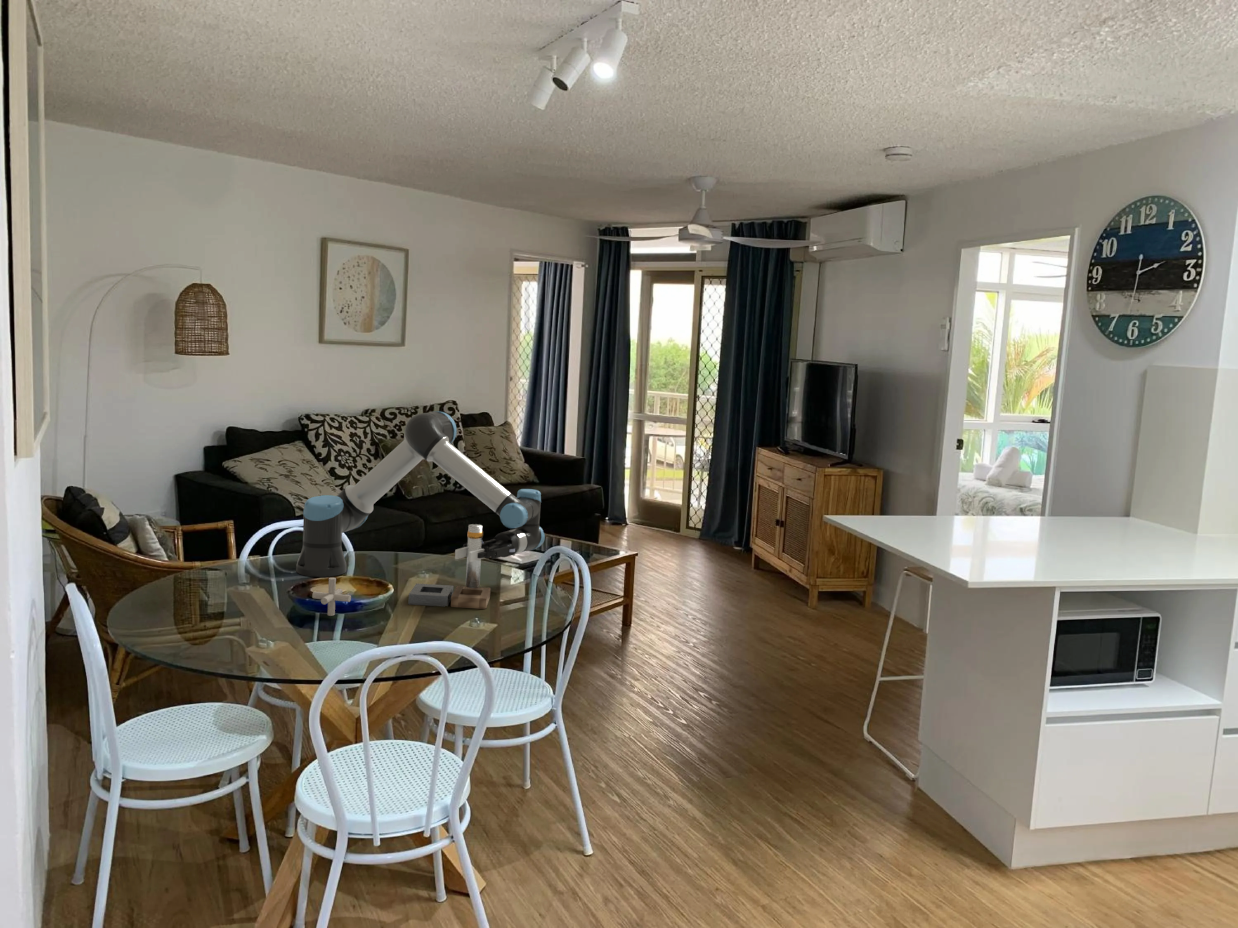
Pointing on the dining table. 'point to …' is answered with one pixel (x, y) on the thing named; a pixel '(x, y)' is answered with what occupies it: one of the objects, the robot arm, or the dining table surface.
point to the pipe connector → (331, 596)
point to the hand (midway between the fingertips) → (462, 555)
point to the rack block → (470, 597)
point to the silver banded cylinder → (474, 566)
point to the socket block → (430, 595)
